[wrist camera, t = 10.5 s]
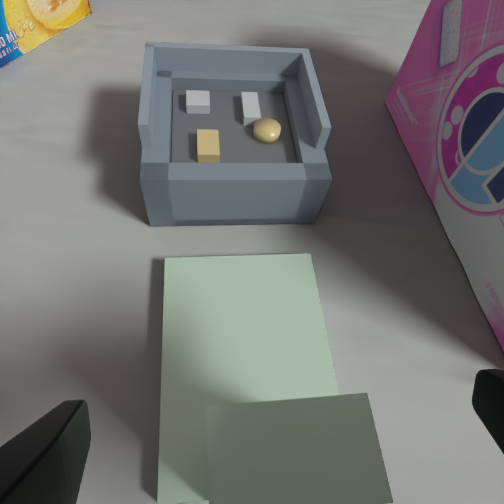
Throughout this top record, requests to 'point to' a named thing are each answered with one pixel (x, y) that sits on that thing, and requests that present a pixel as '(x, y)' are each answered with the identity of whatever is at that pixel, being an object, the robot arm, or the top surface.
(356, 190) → the top surface
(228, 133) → the tub
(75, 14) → the beverage box
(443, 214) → the gum box
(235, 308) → the pale green l-shaped piece
